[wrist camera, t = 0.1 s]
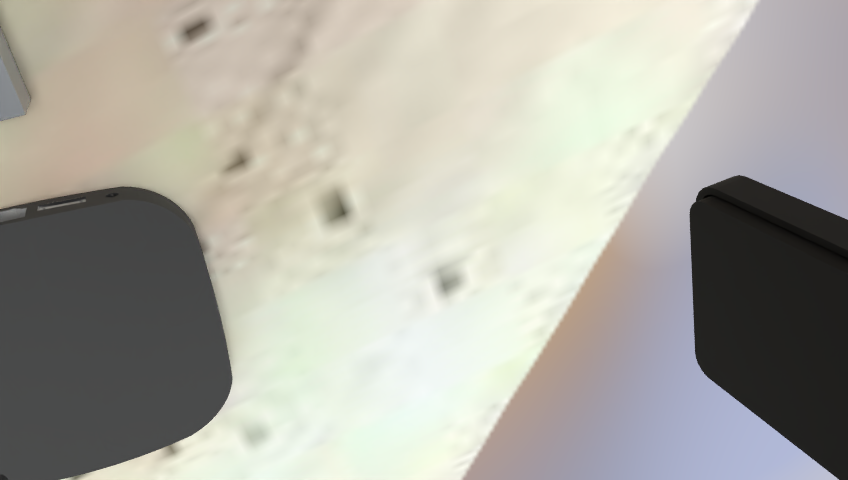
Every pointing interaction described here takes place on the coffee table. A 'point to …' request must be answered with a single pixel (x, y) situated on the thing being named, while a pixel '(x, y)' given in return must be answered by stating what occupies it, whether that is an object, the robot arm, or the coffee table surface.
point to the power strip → (11, 85)
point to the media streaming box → (103, 333)
